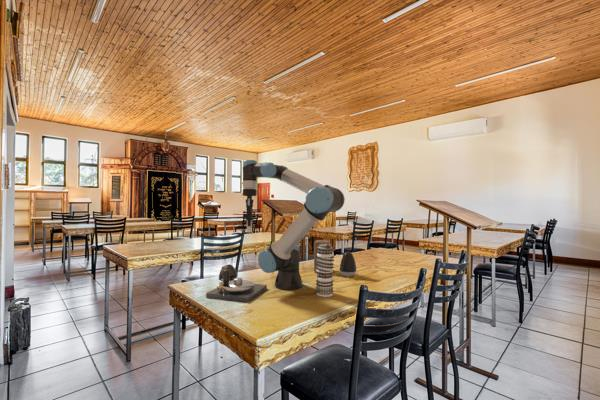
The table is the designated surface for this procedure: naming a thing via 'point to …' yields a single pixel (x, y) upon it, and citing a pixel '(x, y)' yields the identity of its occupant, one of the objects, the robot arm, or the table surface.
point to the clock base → (236, 293)
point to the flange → (235, 283)
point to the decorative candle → (324, 270)
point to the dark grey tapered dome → (348, 264)
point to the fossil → (232, 272)
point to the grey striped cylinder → (317, 249)
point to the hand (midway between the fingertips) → (249, 232)
